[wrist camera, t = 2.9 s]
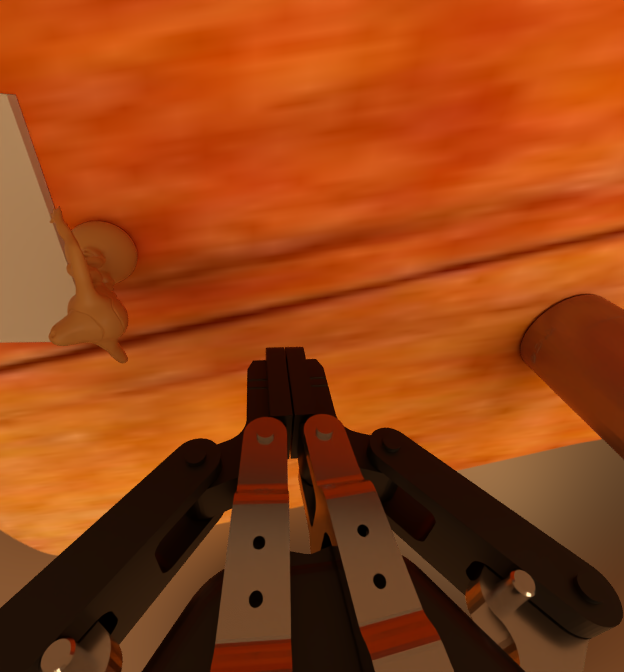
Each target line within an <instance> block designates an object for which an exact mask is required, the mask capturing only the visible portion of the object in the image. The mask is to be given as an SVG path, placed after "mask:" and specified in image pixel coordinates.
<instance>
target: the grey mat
mask: <svg viewBox="0 0 624 672" xmlns="http://www.w3.org/2000/svg"><path fill="white" fill-rule="evenodd" d="M53 209H55V208H54V205H53V202H52V199H51V196H50V193H49V190H48V187H47V184H46V182H45V179H44V176H43V173H42V170H41V167H40V164H39V161H38V158H37V155H36V153H35V150H34V147H33V144H32V141H31V138H30V135H29V132H28V129H27V126H26V124H25V121H24V118H23V115H22V112H21V109H20V106H19V103H18V100H17V98H16V95H13V94H2V93H0V342H51V341H50V340H49V337H48V336H49V333H50V332H51V331H50V330H51V328H52V327H53V326H54V325H55V324H56V323H57V322H59V321H60V320H61V319H63V318H64V317H65V316H67V315H68V313H67V307H68V303H69V301H70V299H71V298H72V297H73V296H74V295H75V294H76V285H75V280H74V278H73V277H72V276H70V275H69V274H68V272H67V270H66V267H67V265H68V264H69V263H68V261H67V259H66V256H65V250H64V247H65V242H64V240H63V239H62V238H61V237H60V235H59V233H58V231H57V229H56V225H55V222H54V223H50V221H51V218H52V217H51V215H50V213H53Z"/></svg>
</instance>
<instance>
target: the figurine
mask: <svg viewBox="0 0 624 672" xmlns="http://www.w3.org/2000/svg"><path fill="white" fill-rule="evenodd" d="M50 215H51V217H52V218H51V221H50V223H54V222H55V225H56V229H57V231H58V233H59V235H60V237H61V238H62V239H63V240H64V242H65V247H64V250H65V256H66V259H67V261H68V263H69V264H68V265H67V267H66V270H67V272H68V274H69V275H70V276H72V277H73V278H74V280H75V285H76V294H75V295H74V296H73V297H72V298H71V299H70V301H69V303H68V307H67V313H68V315H67V316H65V317H64V318H63V319H61V320H60V321H59V322H57V323H56V324H55V325H54V326H53V327H52V328H51V330H50V331H51V332H50V333H49V336H48V337H49V340H50V341H51V342H52V343H53V344H55V345H59V346H67V345H73V344H78V343H94V344H96V345H98V346H100V347H101V348H103V349H105V350H106V351H108V352H109V354H110V355H111V356H112V357H113V358H114V359H116V360H117V361H118V362H120V363H126V362H127V361H128V358H127V355H126V353H125V352H124V350H123V349H122V347H121V346H120V345H119V343H118V338H119V337H121V336H122V335H123V333H124V332H125V331H126V329H127V326H128V314H127V311H126V309H125V307H124V306H123V304H122V303H121V301H120V300H119V299H117V296H116V294H115V293H114V292H112V291H113V286H114V285H115V283H118V282H120V281H123V280H124V279H126V278H127V277H128V276H130V275H131V273H132V272H133V271H134V269H135V267H136V264H137V250H136V247H135V244H134V242H133V241H132V239H131V238H130V236H129V235H128V234H127V233H126V232H125V231H123V230H122V229H121V228H119V227H117V226H115V225H113V224H111V223H107V222H103V221H90V222H85V223H82V224H80V225H78V226H77V227H75V228H74V229H73V230H72V231H71V230H70V228H69V227H68V225H67V224H66V223H65V222H64V220H63V217H62V212H61V210H60V206H59V207H58V208H57V209H53V213H50Z"/></svg>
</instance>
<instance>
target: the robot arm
mask: <svg viewBox="0 0 624 672" xmlns="http://www.w3.org/2000/svg"><path fill="white" fill-rule="evenodd" d="M520 353H521V357H522V359H523V361H524V362H525V363H526V364H527V365H528V366H529V367H530V368H531V369H532V370H533V371H534V372H535V373H536V374H537V375H538V376H539V377H540V378H541V379H542V380H543V381H544V382H545V383H546V384H547V385H548V386H549V387H550V388H551V389H552V390H553V391H554V392H555V393H556V394H557V395H558V396H559V397H560V398H561V399H562V400H563V401H564V402H565V403H566V404H567V405H568V406H569V407H570V408H571V409H572V410H573V411H574V412H576V413H577V414H578V415H579V416H580V417H581V418H582V419H583V420H584V421H585V422H586V423H587V424H588V425H589V426H590V427H591V428H592V429H593V430H594V431H595V432H596V433H597V434H598V435H599V436H600V437H601V438H602V439H603V440H604V441H605V442H606V443H607V444H608V445H609V446H610V447H611V448H612V449H613V450H614V451H615V452H616V453H618V455H619V456H620V457H621V458H623V459H624V309H622V308H620V307H618V306H617V305H615V304H613V303H611V302H610V301H608V300H606V299H604V298H603V297H600V296H597V295H580V296H575V297H572V298H570V299H567V300H564V301H562V302H560V303H558V304H556V305H555V306H553V307H552V308H550V309H549V310H547V311H546V312H545V313H543V314H542V315H541V316H540V317H539V318H538V319H537V320H536V321H535V322H534V323H533V324H532V325H531V326H530V328H529V329H528V331H527V332H526V334H525V336H524V338H523V340H522V343H521V348H520ZM289 454H290V455H291V459H293V458H298V463H299V474H298V480H299V485H300V490H301V495H302V500H303V505H304V510H305V515H306V520H307V525H308V530H309V539H310V553H311V554H302V553H296V552H291V551H290V539H289V538H290V537H289V536H290V535H289V491H288V476H287V459H289ZM229 509H232V514H231V522H230V530H229V538H228V547H227V554H226V562H225V569H223V570H222V571H220V572H218V573H217V574H216V575H214V576H213V577H212V578H210V579H209V580H208V581H207V582H206V583H205V584H204V585H203V586H202V587H201V588H200V589H199V591H198V592H197V593H196V594H195V595H194V596H193V598H192V599H191V601H190V602H189V603H188V605H187V606H186V608H185V609H184V610H183V612H182V613H181V615H180V616H179V618H178V619H177V621H176V622H175V624H174V625H173V627H172V628H171V630H170V631H169V633H168V634H167V635H166V637H165V638H164V640H163V641H162V643H161V644H160V646H159V647H158V649H157V650H156V651H155V653H154V654H153V656H152V657H151V659H150V660H149V662H148V663H147V665H146V666H145V668H144V669H143V671H142V672H583V670H584V664H585V657H586V652H587V645H588V642H589V640H590V639H591V638H593V637H595V636H597V635H599V634H601V633H603V632H605V631H607V630H609V629H611V628H613V627H615V626H617V625H619V624H620V622H621V620H622V617H623V610H622V605H621V602H620V600H619V597H618V595H617V593H616V592H615V590H614V589H613V587H612V586H611V584H610V583H609V582H608V581H607V580H606V578H605V577H604V576H603V575H602V574H601V573H600V572H598V571H597V570H596V569H595V568H594V567H592V566H591V565H589V564H588V563H587V562H585V561H584V560H582V559H581V558H579V557H578V556H576V555H575V554H574V553H572V552H571V551H569V550H568V549H567V548H565V547H564V546H562V545H561V544H559V543H558V542H557V541H555V540H554V539H552V538H551V537H549V536H548V535H547V534H545V533H544V532H542V531H541V530H539V529H538V528H537V527H535V526H534V525H532V524H531V523H529V522H528V521H527V520H525V519H524V518H522V517H521V516H519V515H518V514H517V513H515V512H514V511H512V510H510V509H509V508H508V507H507V506H505V505H504V504H502V503H501V502H499V501H498V500H497V499H495V498H494V497H492V496H491V495H489V494H488V493H487V492H485V491H484V490H482V489H481V488H479V487H478V486H477V485H475V484H474V483H472V482H471V481H469V480H468V479H467V478H465V477H464V476H462V475H461V474H459V473H458V472H457V471H455V470H454V469H452V468H451V467H449V466H448V465H447V464H445V463H444V462H442V461H441V460H439V459H438V458H437V457H435V456H434V455H432V454H431V453H429V452H428V451H427V450H425V449H424V448H422V447H421V446H419V445H418V444H417V443H415V442H414V441H412V440H411V439H409V438H408V437H407V436H405V435H404V434H402V433H401V432H399V431H397V430H395V429H391V428H380V429H377V430H375V431H374V432H373V433H372V435H367V434H362V433H358V432H354V431H351V430H349V429H347V428H346V427H344V426H343V424H342V423H341V422H340V421H339V420H338V419H337V417H336V414H335V410H334V406H333V403H332V399H331V395H330V391H329V387H328V384H327V380H326V376H325V372H324V368H323V367H322V365H321V364H320V363H319V362H318V361H317V360H316V359H306V358H305V353H304V348H303V347H285V350H284V347H277V348H266V360H258V361H253V362H252V363H251V365H250V366H249V368H248V371H247V421H246V425H245V427H244V429H243V430H242V432H241V433H240V434H239V435H237V436H236V437H234V438H233V439H231V440H228V441H226V442H223V443H220V444H217V445H216V443H214V442H213V441H211V440H208V439H203V438H200V439H193V440H190V441H188V442H186V443H184V444H182V445H181V446H180V447H179V448H177V449H176V450H175V451H174V452H173V453H172V454H171V455H170V456H169V457H167V458H166V459H165V460H164V461H163V462H162V463H161V464H160V465H159V466H157V467H156V468H155V469H154V470H153V471H152V472H151V473H150V474H149V475H147V476H146V477H145V478H144V479H143V480H142V481H141V482H140V483H139V484H137V485H136V486H135V487H134V488H133V489H132V490H131V491H130V492H129V493H128V494H126V495H125V496H124V497H123V498H122V499H121V500H120V501H119V502H118V503H116V504H115V505H114V506H113V507H112V508H111V509H110V510H109V511H108V512H106V513H105V514H104V515H103V516H102V517H101V518H100V519H99V520H98V521H96V522H95V523H94V524H93V525H92V526H91V527H90V528H89V529H88V530H86V531H85V532H84V533H83V534H82V535H81V536H80V537H79V538H78V539H76V540H75V541H74V542H73V543H72V544H71V545H70V546H69V547H68V548H66V549H65V550H64V551H63V552H62V553H61V554H60V555H59V556H58V557H57V558H55V559H54V560H53V561H52V562H51V563H50V564H49V565H48V566H47V567H46V568H44V569H43V570H42V571H41V572H40V573H39V574H38V575H37V576H35V577H34V578H33V579H32V580H31V581H30V582H29V583H28V584H27V585H25V586H24V587H23V588H22V589H21V590H20V591H19V592H18V593H17V594H15V595H14V596H13V597H12V598H11V599H10V600H9V601H8V602H7V603H5V604H4V605H3V606H2V607H1V608H0V672H121V670H122V663H123V657H122V651H121V648H120V646H119V644H120V643H121V642H122V640H123V639H124V638H125V637H126V635H127V634H128V633H129V632H130V630H131V629H132V628H133V627H134V625H135V624H136V623H137V622H138V620H139V619H140V618H141V617H142V615H143V614H144V613H145V612H146V610H147V609H148V608H149V606H150V605H151V604H152V603H153V602H154V600H155V599H156V598H157V597H158V595H159V594H160V593H161V592H162V590H163V589H164V588H165V587H166V585H167V584H168V583H169V582H170V580H171V579H172V578H173V577H174V575H175V574H176V573H177V572H178V570H179V569H180V568H181V566H182V565H183V564H184V563H185V562H186V560H187V559H188V558H189V557H190V555H191V554H192V553H193V552H194V550H195V549H196V548H197V547H198V545H199V544H200V543H201V542H202V540H203V539H204V538H205V537H206V535H207V534H208V533H209V532H210V530H211V529H212V528H213V527H214V525H215V524H216V523H217V522H218V520H219V519H220V518H221V517H222V515H223V513H224V512H225V511H227V510H229ZM392 530H393V531H394V532H395V533H396V534H397V535H398V536H399V537H400V538H401V539H403V540H404V541H405V542H406V543H407V544H408V545H409V546H410V547H411V548H413V549H414V550H415V551H416V552H417V553H418V554H419V555H421V556H422V557H423V558H424V559H425V560H426V561H427V562H428V563H429V564H431V565H432V566H433V567H434V568H435V569H436V570H437V571H438V572H439V573H441V574H442V575H443V576H444V577H445V578H446V579H447V580H449V581H450V582H451V583H452V584H453V585H454V586H455V587H456V588H457V589H458V590H460V591H461V592H462V593H463V594H464V595H465V596H466V604H467V608H468V611H469V613H470V616H471V618H470V617H469V616H468V615H467V614H466V613H465V612H463V611H462V609H461V608H460V607H458V606H457V605H456V604H455V603H454V602H453V601H452V600H451V599H450V598H449V597H448V596H447V595H446V594H445V593H444V592H443V591H442V590H441V589H440V588H439V587H438V586H437V585H436V584H435V583H434V582H432V580H431V579H430V578H429V577H428V576H427V575H426V574H425V573H423V571H422V570H421V569H419V568H418V567H417V566H416V565H415V564H414V563H412V562H411V561H410V560H409V559H407V558H406V557H404V556H402V555H401V553H400V550H399V548H398V545H397V542H396V540H395V537H394V535H393V532H392Z"/></svg>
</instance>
